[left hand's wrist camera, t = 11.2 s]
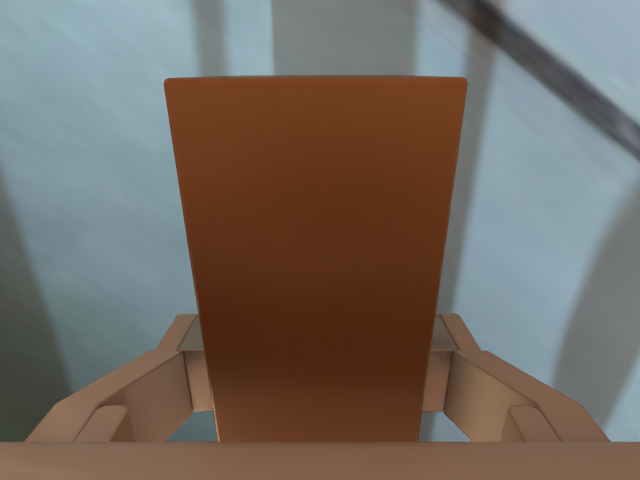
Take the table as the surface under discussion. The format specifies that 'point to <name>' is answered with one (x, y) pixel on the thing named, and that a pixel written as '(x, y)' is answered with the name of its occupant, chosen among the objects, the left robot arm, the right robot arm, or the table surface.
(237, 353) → the bar
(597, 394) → the table surface
